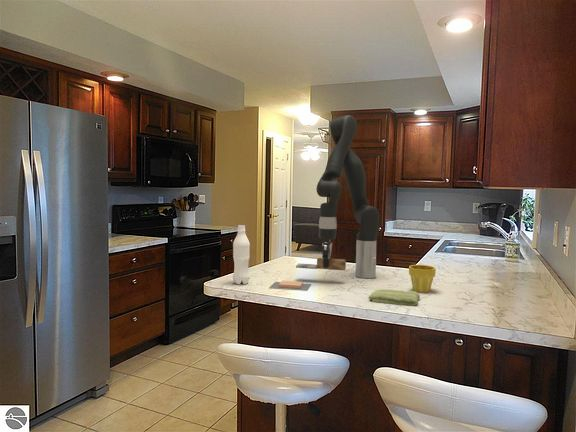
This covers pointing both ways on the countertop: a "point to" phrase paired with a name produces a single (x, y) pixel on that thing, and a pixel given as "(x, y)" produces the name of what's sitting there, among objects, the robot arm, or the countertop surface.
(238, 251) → the water bottle
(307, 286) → the slate mat
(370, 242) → the robot arm
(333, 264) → the board
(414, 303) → the washcloth
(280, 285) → the tile
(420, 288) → the plant pot
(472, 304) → the countertop surface
